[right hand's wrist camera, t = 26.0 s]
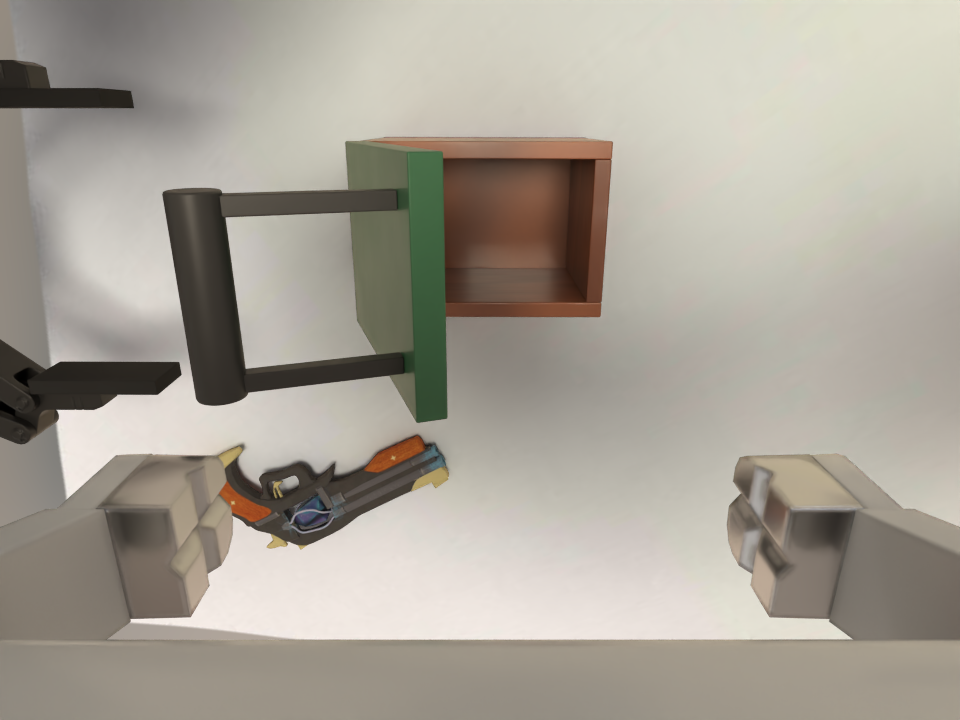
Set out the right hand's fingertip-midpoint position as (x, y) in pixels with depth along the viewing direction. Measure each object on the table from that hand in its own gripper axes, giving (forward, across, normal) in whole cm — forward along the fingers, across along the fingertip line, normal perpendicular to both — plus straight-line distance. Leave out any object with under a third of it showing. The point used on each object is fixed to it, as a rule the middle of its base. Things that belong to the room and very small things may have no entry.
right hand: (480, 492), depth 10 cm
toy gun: (+37, +13, +21) cm, 44 cm away
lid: (+19, +3, 0) cm, 20 cm away
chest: (+37, 0, 0) cm, 37 cm away
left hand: (+22, +16, 0) cm, 28 cm away
